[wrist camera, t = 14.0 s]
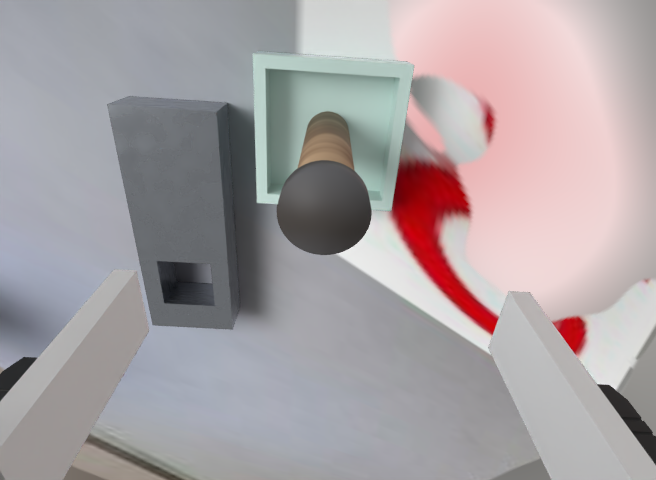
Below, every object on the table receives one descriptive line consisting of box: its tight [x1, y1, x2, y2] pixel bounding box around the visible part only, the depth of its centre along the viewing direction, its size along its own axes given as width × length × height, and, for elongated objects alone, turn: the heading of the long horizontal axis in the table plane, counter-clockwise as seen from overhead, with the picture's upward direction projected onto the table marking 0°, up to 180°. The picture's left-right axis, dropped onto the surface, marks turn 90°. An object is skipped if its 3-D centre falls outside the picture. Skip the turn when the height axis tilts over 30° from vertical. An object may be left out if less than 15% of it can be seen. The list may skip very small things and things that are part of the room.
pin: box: [277, 111, 371, 255], centre depth 29 cm, size 5×5×18 cm
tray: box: [253, 51, 414, 211], centre depth 36 cm, size 13×13×3 cm
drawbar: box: [107, 96, 240, 329], centre depth 40 cm, size 24×9×4 cm, turn 176°
